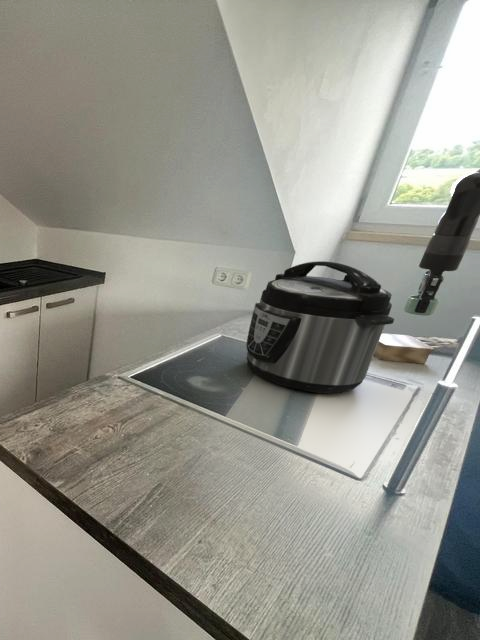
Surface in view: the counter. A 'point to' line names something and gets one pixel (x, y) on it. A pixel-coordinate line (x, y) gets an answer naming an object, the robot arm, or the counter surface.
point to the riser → (402, 348)
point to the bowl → (413, 302)
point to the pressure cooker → (317, 328)
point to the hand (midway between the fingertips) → (418, 309)
